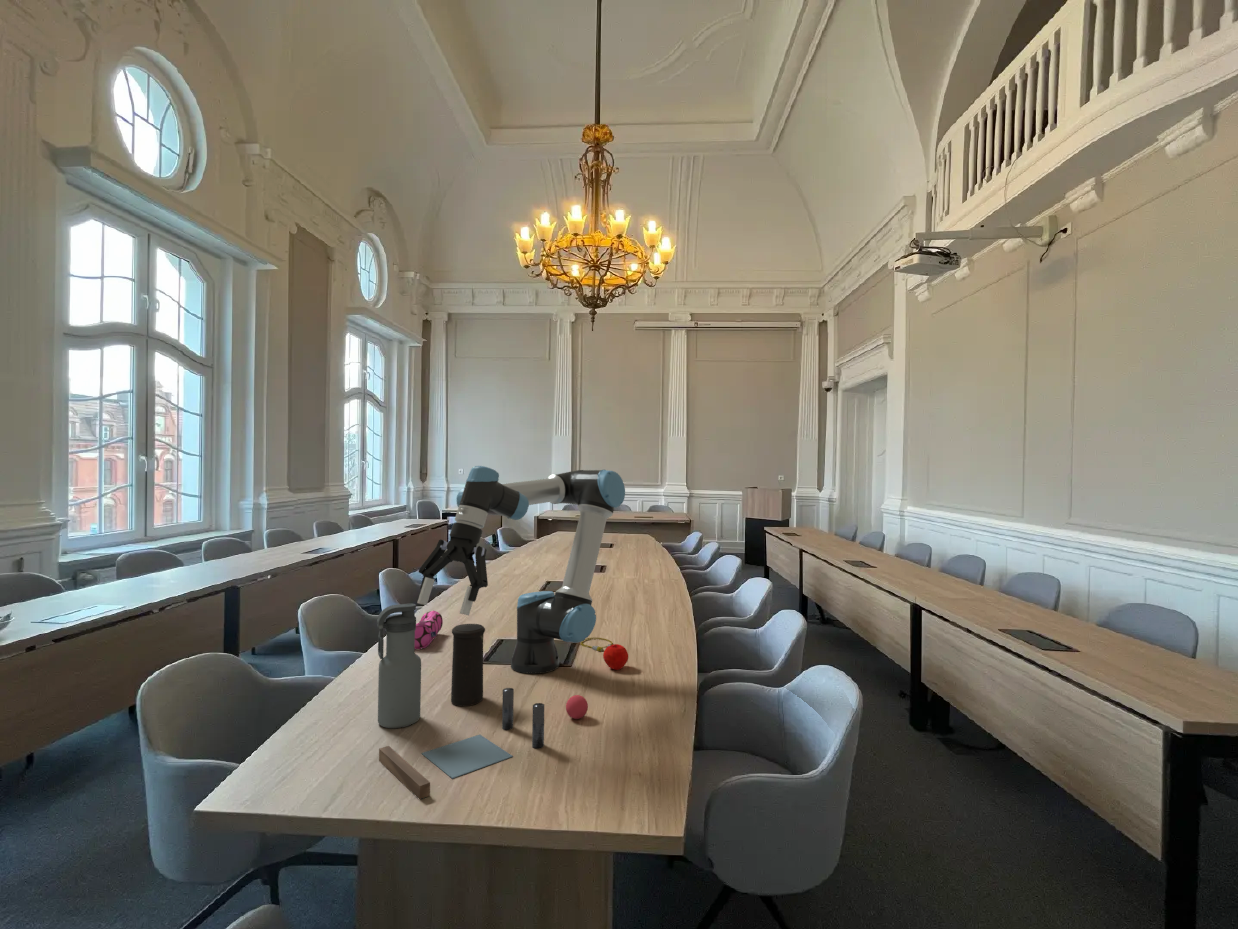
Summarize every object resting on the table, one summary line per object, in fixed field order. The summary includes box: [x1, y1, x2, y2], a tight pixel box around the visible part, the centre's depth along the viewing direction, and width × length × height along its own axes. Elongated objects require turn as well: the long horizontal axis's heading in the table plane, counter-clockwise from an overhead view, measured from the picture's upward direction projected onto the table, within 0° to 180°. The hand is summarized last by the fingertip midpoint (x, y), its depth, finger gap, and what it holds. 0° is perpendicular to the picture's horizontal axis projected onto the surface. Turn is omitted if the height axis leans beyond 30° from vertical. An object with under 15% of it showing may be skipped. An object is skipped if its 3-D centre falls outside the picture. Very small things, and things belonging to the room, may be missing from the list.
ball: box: [565, 694, 589, 720], centre depth 148 cm, size 6×6×6 cm
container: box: [450, 623, 486, 707], centre depth 158 cm, size 9×9×20 cm
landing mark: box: [421, 734, 514, 780], centre depth 127 cm, size 14×14×1 cm
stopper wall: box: [378, 745, 431, 800], centre depth 118 cm, size 2×20×2 cm, turn 43°
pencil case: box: [415, 610, 444, 650], centre depth 213 cm, size 21×10×10 cm, turn 8°
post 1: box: [501, 687, 515, 731], centre depth 142 cm, size 3×3×9 cm
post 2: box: [531, 702, 545, 750], centre depth 132 cm, size 3×3×9 cm
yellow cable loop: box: [580, 637, 613, 653], centre depth 211 cm, size 12×16×2 cm
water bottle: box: [376, 603, 422, 729], centre depth 145 cm, size 10×10×28 cm
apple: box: [602, 643, 629, 671], centre depth 186 cm, size 8×8×7 cm
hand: (442, 609), depth 144 cm, fingers open, 13 cm apart
